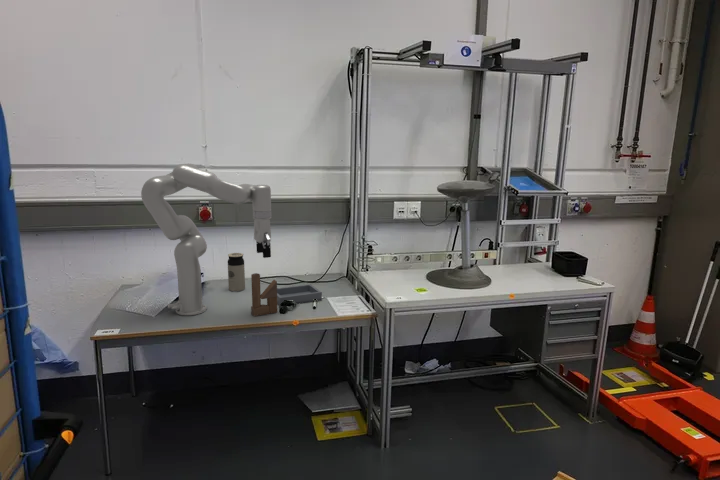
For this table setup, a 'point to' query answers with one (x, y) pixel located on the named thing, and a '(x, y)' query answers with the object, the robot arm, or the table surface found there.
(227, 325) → the table surface
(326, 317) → the table surface
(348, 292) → the table surface
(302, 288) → the tray
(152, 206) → the robot arm
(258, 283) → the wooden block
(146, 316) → the table surface
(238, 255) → the travel mug
